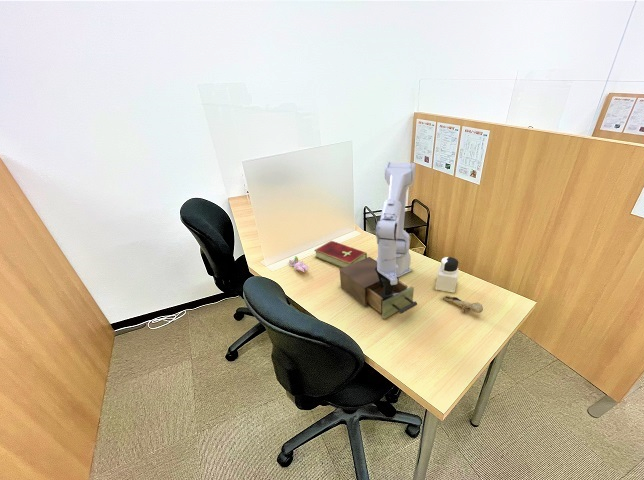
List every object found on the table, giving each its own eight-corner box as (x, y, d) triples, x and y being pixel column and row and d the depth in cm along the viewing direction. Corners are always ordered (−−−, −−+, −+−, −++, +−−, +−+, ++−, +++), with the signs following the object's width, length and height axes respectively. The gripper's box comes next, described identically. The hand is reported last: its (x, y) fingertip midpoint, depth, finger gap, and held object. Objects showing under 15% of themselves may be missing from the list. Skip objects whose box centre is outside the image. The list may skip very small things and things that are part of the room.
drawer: (422, 310, 100) (424, 294, 96) (394, 327, 93) (395, 311, 90) (385, 284, 113) (386, 270, 109) (358, 298, 106) (357, 283, 103)
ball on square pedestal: (455, 282, 114) (460, 256, 107) (454, 293, 109) (459, 266, 102) (437, 279, 116) (441, 253, 109) (435, 289, 111) (439, 263, 104)
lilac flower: (287, 267, 130) (299, 277, 118) (283, 255, 127) (296, 264, 116) (299, 262, 133) (313, 272, 121) (296, 250, 130) (310, 259, 119)
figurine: (441, 305, 106) (479, 318, 95) (441, 294, 104) (479, 307, 93) (448, 301, 108) (485, 314, 97) (447, 290, 106) (485, 302, 95)
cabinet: (395, 291, 110) (396, 273, 106) (365, 307, 104) (364, 287, 99) (369, 274, 121) (369, 256, 116) (340, 287, 114) (339, 269, 109)
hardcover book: (332, 247, 142) (331, 239, 139) (366, 259, 131) (366, 251, 128) (315, 257, 134) (314, 249, 132) (350, 271, 123) (349, 263, 121)
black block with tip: (397, 297, 105) (398, 289, 103) (400, 301, 102) (401, 294, 100) (377, 301, 103) (377, 293, 101) (379, 305, 101) (380, 298, 99)
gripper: (407, 265, 87) (404, 300, 94) (390, 243, 98) (389, 276, 106) (385, 269, 85) (384, 304, 93) (371, 247, 97) (371, 280, 104)
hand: (385, 290), depth 99 cm, fingers open, 4 cm apart
